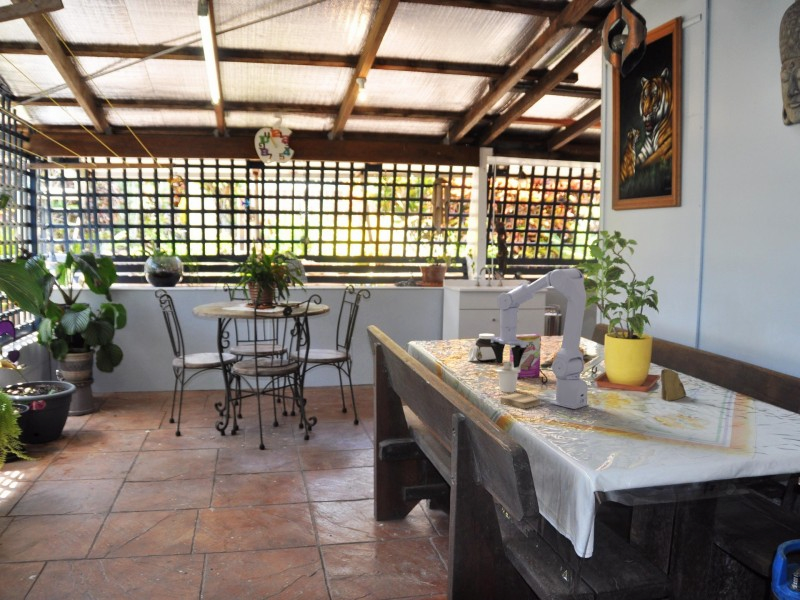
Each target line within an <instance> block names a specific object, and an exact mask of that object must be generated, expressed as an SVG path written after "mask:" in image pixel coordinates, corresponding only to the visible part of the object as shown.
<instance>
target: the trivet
mask: <svg viewBox="0 0 800 600" xmlns="http://www.w3.org/2000/svg"><path fill="white" fill-rule="evenodd" d="M499 400H500V401H499V402H500V404H502V403H505V404H504V405H506V404H508V405H507V406H510V405H512V407H514V406H516V408H518V407H521V408H520V409H522V408H524V409H523V410H526V409H525V408H527V409H530V408H533V406H534V407H537V406H540V405H541V398H538V397H535V396H531V395H526V394H521V393H518V392H517V393H516V392H513V393H511V394H508V395H507V394H506V395H504V396H500V399H499ZM529 407H530V408H529Z"/></svg>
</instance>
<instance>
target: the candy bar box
mask: <svg viewBox="0 0 800 600" xmlns="http://www.w3.org/2000/svg"><path fill="white" fill-rule="evenodd" d="M517 339H518V340H521V341H526V350H525V351H524V353H523V355H522V358H521V361H520V365H519V367H514V364H513V353H512V349H511V347H515V346H512V345H509V359H508V360H509V361H508V362H512V367H513V368H518V369H520V373H518V375H517V379H525V378H526V379H527V378H528V379H529V378H530V377H531V378H540V376H541V375H540V373H541V372H540V370H541V346H542V345H541V343H542V335H539V334H538V333H537V334H536V333H527V334H525V333H524V334H517Z"/></svg>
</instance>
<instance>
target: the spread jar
mask: <svg viewBox="0 0 800 600" xmlns="http://www.w3.org/2000/svg"><path fill="white" fill-rule="evenodd" d="M491 337H496V335H495V334H494V333H479V334H478V339H477V340H476V341H475V345H471V347H470V348H469V350H468V354H467V361H469V362H473V361H474V360H475V359H476V360H477V361H478V362H479V361H480V362H479V363H483V362H491V363H495V362H497V361H496V357H495V354H494V351H493V349H492V348H491V344H493V343H491Z"/></svg>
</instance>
